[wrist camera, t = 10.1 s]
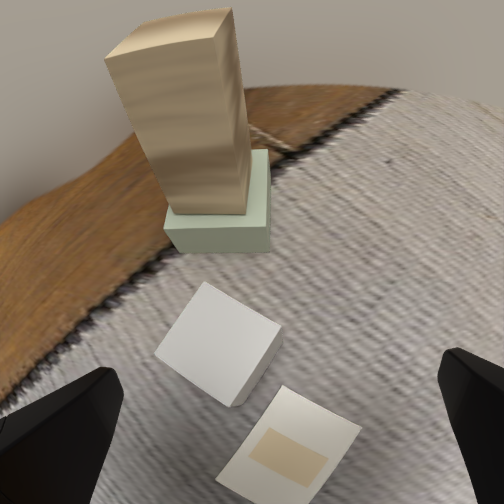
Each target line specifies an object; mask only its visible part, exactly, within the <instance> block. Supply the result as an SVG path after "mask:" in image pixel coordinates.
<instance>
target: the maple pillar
mask: <svg viewBox="0 0 504 504" xmlns="http://www.w3.org/2000/svg"><path fill="white" fill-rule="evenodd" d="M104 61H105V63H106V65H107V68H108V70H109V73H110V75H111V77H112V80H113V82H114V85H115V87H116V90H117V92H118V94H119V97H120V98H121V101H122V104H123V106H124V108H125V110H126V113H127V115H128V117H129V120H130V122H131V124H132V126H133V129H134V131H135V133H136V135H137V137H138V140H139V142H140V144H141V146H142V148H143V151H144V153H145V155H146V157H147V159H148V161H149V163H150V166H151V168H152V170H153V172H154V174H155V176H156V178H157V180H158V182H159V184H160V186H161V188H162V191H163V193H164V195H165V197H166V199H167V201H168V203H169V205H170V207H171V209H172V211H173V213H174V214H246V208H247V201H248V193H249V185H250V177H251V170H252V162H253V159H252V151H251V144H250V136H249V128H248V121H247V113H246V105H245V98H244V90H243V84H242V76H241V68H240V61H239V54H238V47H237V40H236V33H235V26H234V19H233V12H232V7H229V8H220V9H211V10H204V11H197V12H191V13H185V14H179V15H174V16H169V17H164V18H159V19H155V20H151V21H147V22H144V23H143V24H141V25H140V26H139V27H138V28H137V29H135V30H134V31H133V32H132V33H131V34H130V35H129V36H128V37H127V38H125V39H124V40H123V41H122V42H121V43H120V44H119V45H118V46H117V47H116V48H115V49H114V50H113V51H112V52H111V53H110V54H109V55H108V56H107V57H106V58H105V59H104Z"/></svg>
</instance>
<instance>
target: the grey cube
mask: <svg viewBox="0 0 504 504" xmlns="http://www.w3.org/2000/svg"><path fill="white" fill-rule="evenodd" d="M282 343H283V336H282V326H280V325H278V324H277V323H275V322H273V321H271V320H269V319H268V318H266V317H264V316H262V315H261V314H259V313H257V312H255V311H254V310H252V309H250V308H249V307H247V306H245V305H243V304H242V303H240V302H238V301H237V300H235V299H233V298H231V297H230V296H228V295H226V294H225V293H223V292H221V291H220V290H218V289H216V288H215V287H213V286H211V285H210V284H208V283H206V282H205V281H204V282H203V283H202V285H201V286H200V288H199V289H198V290H197V292H196V293H195V295H194V296H193V298H192V299H191V300H190V302H189V303H188V305H187V306H186V308H185V309H184V310H183V312H182V313H181V315H180V316H179V318H178V319H177V321H176V322H175V323H174V325H173V326H172V328H171V329H170V331H169V332H168V334H167V335H166V337H165V338H164V339H163V341H162V342H161V344H160V345H159V347H158V348H157V350H156V351H155V353H154V355H156V356H157V357H158V358H160V359H161V360H162V361H163V362H165V363H166V364H167V365H169V366H170V367H171V368H173V369H174V370H175V371H177V372H178V373H179V374H181V375H182V376H183V377H185V378H186V379H188V380H189V381H190V382H192V383H193V384H195V385H196V386H197V387H199V388H200V389H202V390H203V391H205V392H206V393H208V394H209V395H211V396H212V397H214V398H215V399H217V400H218V401H220V402H221V403H223V404H224V405H226V406H227V407H234V406H239V405H243V404H244V402H245V401H246V399H247V398H248V396H249V395H250V393H251V392H252V390H253V389H254V387H255V386H256V384H257V383H258V381H259V380H260V378H261V377H262V375H263V374H264V372H265V370H266V369H267V367H268V366H269V364H270V363H271V361H272V359H273V358H274V356H275V355H276V353H277V351H278V350H279V348H280V347H281V345H282Z"/></svg>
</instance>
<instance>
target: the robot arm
mask: <svg viewBox="0 0 504 504" xmlns="http://www.w3.org/2000/svg"><path fill="white" fill-rule="evenodd" d="M437 377H438V383H439V386H440V390H441V393H442V396H443V400H444V403H445V406H446V410H447V413H448V417H449V420H450V424H451V426H452V429H453V432H454V434H455V437H456V440H457V442H458V445H459V448H460V450H461V453H462V456H463V459H464V462H465V464H466V467H467V470H468V473H469V476H470V479H471V483H472V486H473V489H474V492H475V496H476V499H477V503H478V504H504V368H502V367H500V366H498V365H496V364H494V363H491V362H489V361H487V360H485V359H483V358H481V357H478V356H476V355H474V354H472V353H470V352H468V351H465V350H463V349H461V348H458V347H456V348H452V349H447V350H446V351H445V352H444V354H443V357H442V360H441V364H440V367H439V371H438V376H437ZM123 397H124V391H123V388H122V386H121V383H120V381H119V378H118V376H117V373H116V371H115V370H114V369H113V368H109V367H99V368H97V369H95V370H93V371H92V372H90V373H88V374H86V375H84V376H82V377H80V378H79V379H77V380H75V381H73V382H71V383H69V384H67V385H65V386H63V387H62V388H60V389H58V390H56V391H54V392H52V393H50V394H48V395H46V396H44V397H42V398H41V399H39V400H37V401H35V402H33V403H31V404H29V405H27V406H25V407H23V408H21V409H19V410H17V411H15V412H13V413H11V414H9V415H8V416H7V417H6V416H5V417H3V418H1V419H0V504H89V503H90V500H91V497H92V495H93V492H94V489H95V486H96V483H97V480H98V477H99V474H100V472H101V469H102V466H103V463H104V461H105V458H106V455H107V452H108V450H109V447H110V444H111V441H112V438H113V435H114V431H115V427H116V424H117V420H118V416H119V412H120V409H121V405H122V401H123Z"/></svg>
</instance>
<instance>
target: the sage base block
mask: <svg viewBox="0 0 504 504" xmlns="http://www.w3.org/2000/svg"><path fill="white" fill-rule="evenodd" d="M251 151H252V159H253V162H252V170H251V177H250V185H249V193H248V201H247V208H246V214H174V213H173V211H172V209H171V207H170V205H169V206H168V211H167V215H166V220H165V224H164V231H165V232H166V234H167V235H168V237H169V238H170V239H171V241H172V242H173V244H174V245H175V247H176V248H177V249H178V251H179V252H180V253H262V252H270V210H271V175H270V166H269V157H268V149H260V150H251Z"/></svg>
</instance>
